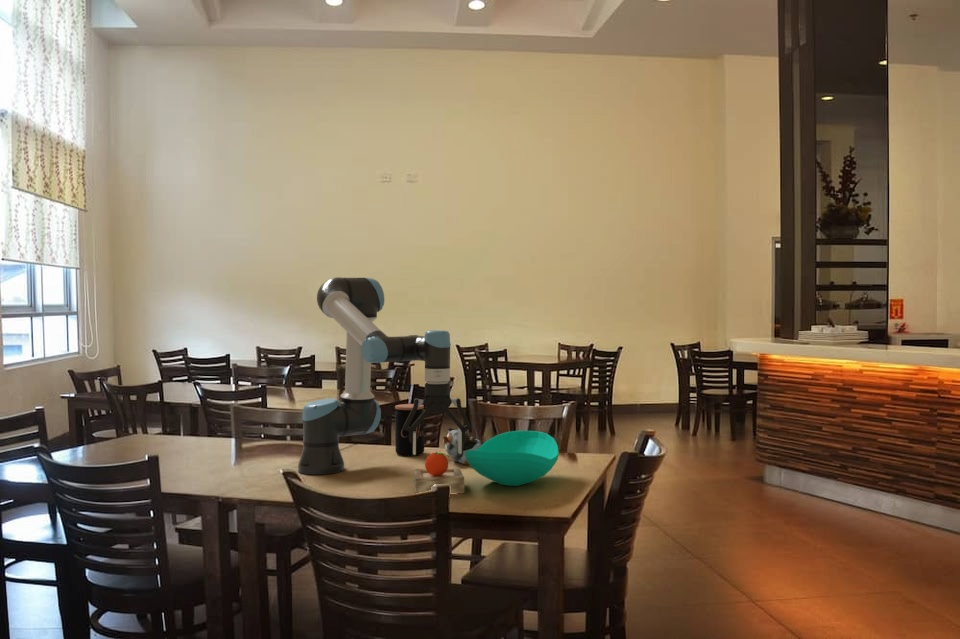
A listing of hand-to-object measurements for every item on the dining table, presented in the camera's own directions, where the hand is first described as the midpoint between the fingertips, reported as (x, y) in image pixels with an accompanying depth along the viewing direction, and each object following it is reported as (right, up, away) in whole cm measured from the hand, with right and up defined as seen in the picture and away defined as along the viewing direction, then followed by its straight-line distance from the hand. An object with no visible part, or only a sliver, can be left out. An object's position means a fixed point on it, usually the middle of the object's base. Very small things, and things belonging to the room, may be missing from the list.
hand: (437, 453), depth 236 cm
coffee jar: (-13, -10, +57) cm, 60 cm away
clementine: (0, -7, 0) cm, 7 cm away
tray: (0, -11, 0) cm, 11 cm away
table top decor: (+23, -10, +6) cm, 26 cm away
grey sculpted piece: (+8, -10, +40) cm, 42 cm away
